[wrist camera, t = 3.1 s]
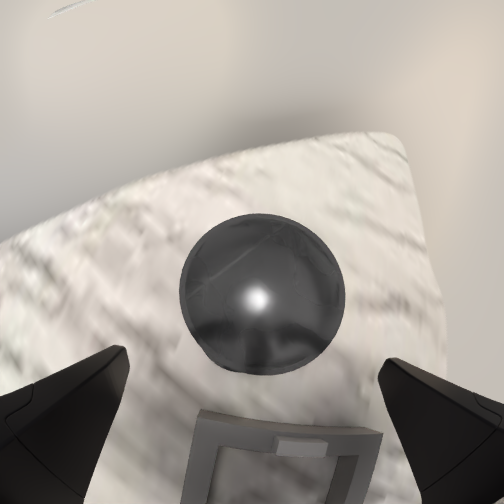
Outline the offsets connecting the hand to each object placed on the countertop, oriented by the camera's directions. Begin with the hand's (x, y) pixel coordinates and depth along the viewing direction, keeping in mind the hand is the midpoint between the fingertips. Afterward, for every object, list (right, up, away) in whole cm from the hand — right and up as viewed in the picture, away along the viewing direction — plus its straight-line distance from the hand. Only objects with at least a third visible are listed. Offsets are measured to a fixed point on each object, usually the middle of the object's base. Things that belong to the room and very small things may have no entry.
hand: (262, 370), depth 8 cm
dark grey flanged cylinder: (-1, -2, +11) cm, 11 cm away
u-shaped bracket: (+1, -14, +6) cm, 16 cm away
